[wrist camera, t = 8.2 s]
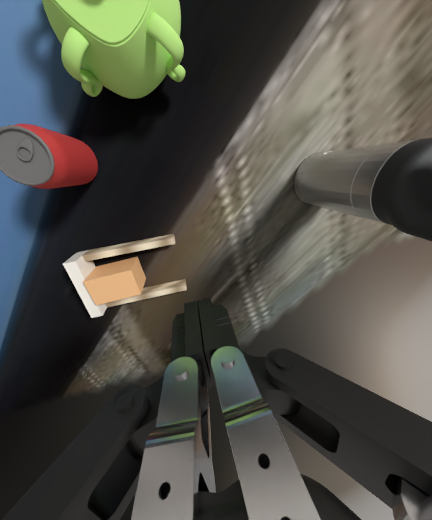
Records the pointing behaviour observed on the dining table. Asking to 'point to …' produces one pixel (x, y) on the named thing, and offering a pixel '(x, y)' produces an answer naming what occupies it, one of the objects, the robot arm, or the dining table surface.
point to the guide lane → (134, 247)
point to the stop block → (78, 274)
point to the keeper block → (115, 281)
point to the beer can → (45, 157)
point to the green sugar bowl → (119, 43)
